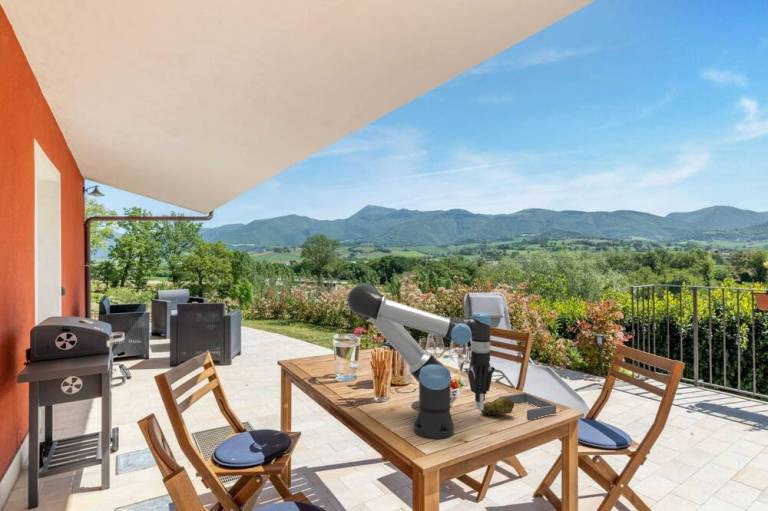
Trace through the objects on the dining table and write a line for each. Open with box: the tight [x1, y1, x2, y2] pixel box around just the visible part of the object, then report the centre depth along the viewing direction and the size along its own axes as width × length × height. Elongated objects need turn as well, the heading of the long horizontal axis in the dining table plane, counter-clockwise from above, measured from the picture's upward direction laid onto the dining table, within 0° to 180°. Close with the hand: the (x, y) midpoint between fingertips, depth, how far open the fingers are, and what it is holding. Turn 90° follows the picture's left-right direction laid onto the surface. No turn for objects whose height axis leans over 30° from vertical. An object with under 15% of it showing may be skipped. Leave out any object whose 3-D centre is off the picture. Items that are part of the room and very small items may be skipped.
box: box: [498, 392, 557, 421], centre depth 184 cm, size 15×18×4 cm
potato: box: [480, 397, 515, 416], centre depth 177 cm, size 8×13×8 cm, turn 54°
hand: (479, 409), depth 173 cm, fingers closed
